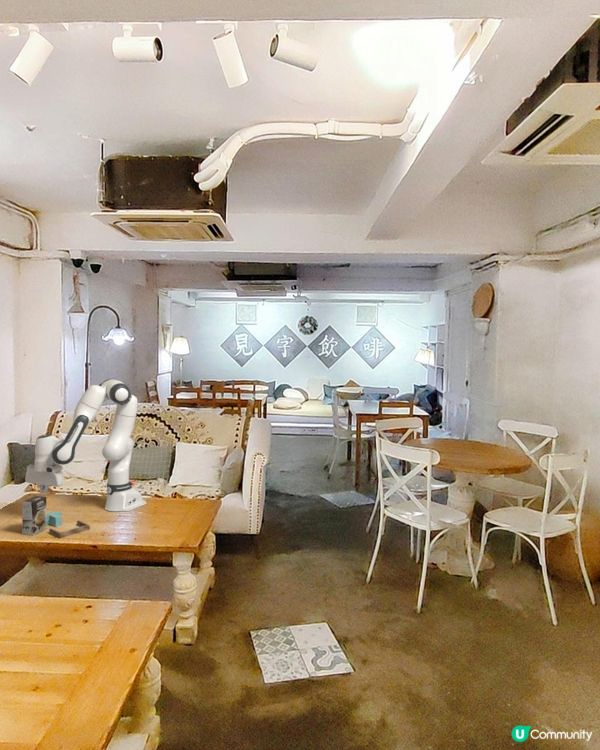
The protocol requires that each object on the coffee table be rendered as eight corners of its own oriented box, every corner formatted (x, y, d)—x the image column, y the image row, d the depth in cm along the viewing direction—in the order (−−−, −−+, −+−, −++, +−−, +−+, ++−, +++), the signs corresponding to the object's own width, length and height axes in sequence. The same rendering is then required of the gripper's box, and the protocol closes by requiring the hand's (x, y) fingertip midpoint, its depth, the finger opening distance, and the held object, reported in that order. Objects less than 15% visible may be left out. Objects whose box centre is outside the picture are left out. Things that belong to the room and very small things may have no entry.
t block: (58, 519, 259) (58, 510, 258) (67, 523, 253) (67, 514, 253) (40, 524, 251) (40, 515, 251) (49, 528, 246) (49, 519, 246)
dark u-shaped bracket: (79, 524, 252) (79, 520, 252) (89, 529, 247) (89, 525, 246) (49, 533, 240) (49, 529, 240) (59, 538, 235) (59, 534, 234)
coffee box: (33, 535, 237) (33, 502, 236) (21, 534, 238) (21, 501, 237) (47, 528, 246) (47, 496, 245) (35, 527, 247) (35, 495, 246)
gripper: (22, 465, 256) (22, 492, 256) (56, 470, 250) (55, 497, 251) (31, 462, 262) (31, 488, 263) (65, 467, 257) (64, 493, 257)
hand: (43, 492), depth 257 cm, fingers closed
